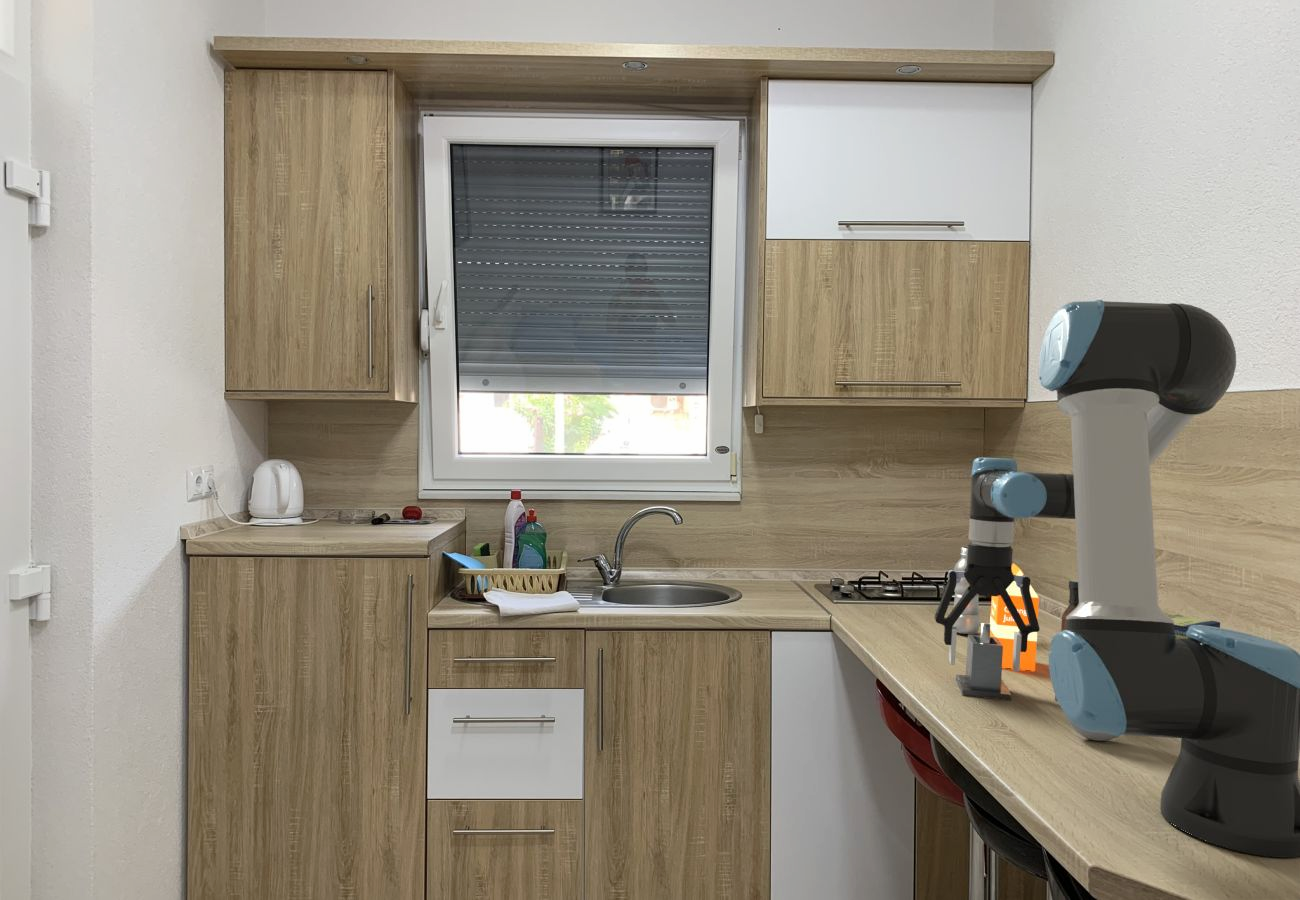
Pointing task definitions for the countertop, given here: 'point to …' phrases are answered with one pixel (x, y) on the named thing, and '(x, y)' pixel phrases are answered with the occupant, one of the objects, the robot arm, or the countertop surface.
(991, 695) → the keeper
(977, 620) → the plastic bottle
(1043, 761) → the countertop surface
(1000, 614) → the orange juice
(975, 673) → the grey rectangular holder
